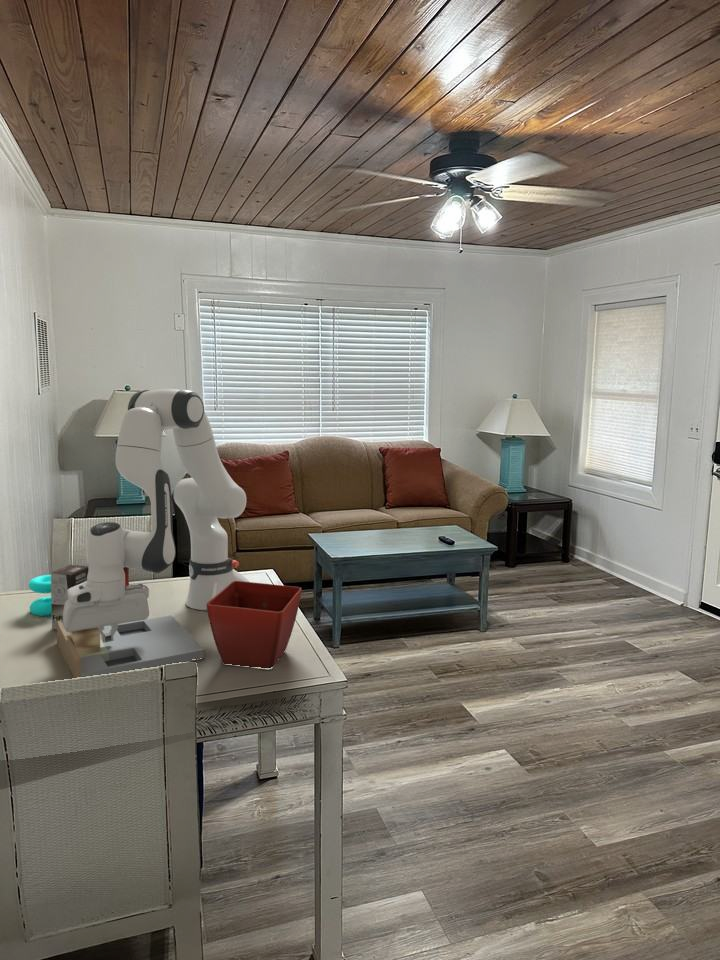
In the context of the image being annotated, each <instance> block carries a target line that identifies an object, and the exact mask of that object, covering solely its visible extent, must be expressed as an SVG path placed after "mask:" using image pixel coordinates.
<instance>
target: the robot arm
mask: <svg viewBox="0 0 720 960" xmlns="http://www.w3.org/2000/svg"><path fill="white" fill-rule="evenodd" d="M204 406H205V405H204V402H203V400H202V397H200V395H199V394H198V393H197V392H196V391H193V390H190V389H185V388H183V389H176V388H161V389H152V390H150V389H144V390H140V391H137V392H135V393H133V394H132V396H131V397H130V399H129V402H128V405H127V411H126V412H125V414H124V416H123V419H122V422H121V425H120V428H119V433H118V436H117V437H118V438H117V443H116V450H115V460H114V461H115V467H116V470H117V471H118V473H119V474H120V475H121V477H122V478H123V479H125V480H126V481H128V483H131V484H132V485H135V486H136V487H138V488H140V489H141V490H143V491H144V492H145V493H146V494H147V496H148V498H149V501H150V512H151V513H150V517H151V521H150V523H151V531H150V532H149V531H139V530H134V529H126V528H123V527H122V526H121V524H119V523H117V522H114V521H107V522H100V523H98V524H95V525H93V526H92V527H90V528H89V531H88V535H87V540H86V549H85V551H86V564H87V566H88V569H89V571H88V575H87V581H85V582H83V583H81V584H79V585H76V586H74V587H71V588H69V589H68V591H67V595H68V598H69V599H68V600H67V601H66V603H65V605H64V610H63V627H64V629H65V630H66V631H67V632H73V631H79V630H85V629H91V628H98V630H99V632H100V634H101V635H102V642H103V643H105V642H111V641H113V640H114V638H113V635H114V634H115V632H116V630H117V629H118V624H121V623H127V622H133V621H139V620H145V619H149V616H150V607H149V601H148V598H149V596H150V589H149V587H148V586H147V585H145V584H143V583H137V584H129V585H128V586H125V573H124V570H123V568H124V567H127V568H129V569H135V570H144V571H147V572H152V573H155V574H160V573H162V572H164V571H165V570H167V569H168V568H169V567H170V566H171V565H172V564H173V563H174V561H175V559H176V554H177V553H176V552H177V551H176V544H175V543H176V542H175V538H174V531H173V529H174V528H173V508H172V507H173V506H172V490H171V489H172V488H171V486H172V485H171V481H170V480H171V479H170V477H169V474H168V472H166V471H164V469H163V466H162V465H163V464H162V461H161V454H162V453H161V452H162V441H163V440H162V439H163V437H162V436H163V435H162V434H163V431H165V430H172V432H173V439H174V441H175V445H176V450H177V453H178V457H179V462H180V464H181V465H180V466H182V469H183V470H184V472H186V474H188V475H189V476H190V477H187V478H182V479H180V480H179V481H178V482H177V484H176V485H175V487H174V490H173V500H174V502H175V504H176V505H177V507H178V508H179V509H180V510H181V513H182V514H183V516H184V518H185V520H186V524H187V526H188V530H189V535H190V559H189V564H188V569H189V571H188V572H189V574H188V575H189V578H190V579H189V588H188V592H187V597H186V600H185V605H186V606H187V607H188V608H191V609H194V610H198V611H199V610H200V611H207V603H208V602H209V601H210V600H211V599H212V598H214V597H215V596H216V595H217V594H218V593H220V592H221V591H222V590H223V589H224V588H226V587H227V586H228V585H229V584H230V583H231V582H233V581H244V582H250V581H249V579H248V578H247V577H246V576H244V575H242V574H241V573H240V572H239V571H237V570H235V569H234V568H238V567H239V566H240V564H239V561H237V560H236V559H232V558H230V557H229V556H228V553H229V552H228V545H229V543H228V542H229V541H228V539H229V538H228V533H227V531H226V530H225V529H224V527H222V526H221V523H220V522H219V520H218V519H234V518H235V519H236V518H239V517H240V516H241V515H242V514H243V512H244V511H245V509H246V506H247V493H246V491H245V490H244V489H243V488H242V487H241V486H239V485H238V484H237V483H236V482H235V481H234V480H233V478H232V477H231V475H230V474H229V473H228V471H227V469H226V468H225V466H224V464H223V462H222V461H221V460H222V459H221V458H220V456H219V452H218V448H217V444H216V441H215V437H214V433H213V429H212V426H211V424H210V421H209V418H208V415H207V413H206V412H205V407H204ZM109 625H110V626H111V627H112V628H111V630H110V632H109V633H106V634H104V633H103V631H102V630H104V626H109Z"/></svg>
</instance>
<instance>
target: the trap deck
mask: <svg viewBox="0 0 720 960" xmlns="http://www.w3.org/2000/svg"><path fill="white" fill-rule="evenodd" d="M111 628H112V627H111V626H110V625H109V626H104V630H102V631H103V633H104V634H106V633H109V632H110V630H111ZM56 638H57V639H56V640H57V641H56V643H57V645H58V647H59V650H60V651H61V654H62V656H63V658H64V661H65V662H67V663H66V664H68V665H67V667H68V669H69V668H70V669H69V671H70V670H71V671H70V673H71V676H72V675H73V676H72V677H73V679H74V678H77V677H86V676H93V675H101V674H109V673H117V672H122V671H129V670H135V669H142V668H150V667H157V666H161V665H166V664H172V663H179V662H187V661H192V662H196V661H195V660H192V659H196V660H197V659H200V658H204V659H205V649H204V648H203V647H202V646H201V645H200V643H198V642H197V641H196V640H195V639H194V637H192V635H191V634H190V633H189V632H188V631H187V629H185V628H184V627H183V625H181V624H180V622H179V621H177V620H176V618H175V617H174V616H173V615H171V614H169V615H164V616H157V617H152V618H147V619H145V620H139V621H133V622H127V623H121V624H118V629H117V630H116V632H115V634H114V635H113V638H114V640H113V641H111V642H105V643H103V642H102V635H101V634H100V652H95V653H90V654H85V655H78V653H77V651H76V649H75V647H74V645H73V643H72V641H71V639H70V637H69V632H67V631H66V630H65V629H64V627H63V624H62V622H61V620H60V621H57V629H56ZM197 661H198V660H197ZM187 663H188V662H187Z"/></svg>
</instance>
